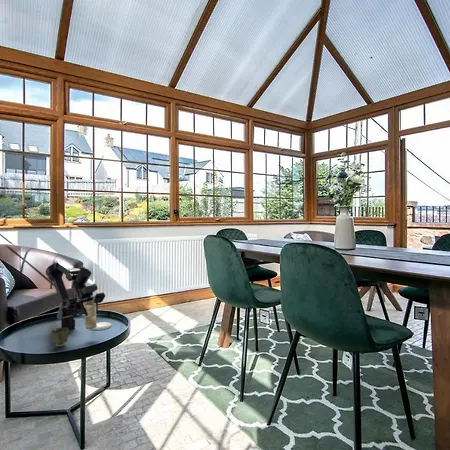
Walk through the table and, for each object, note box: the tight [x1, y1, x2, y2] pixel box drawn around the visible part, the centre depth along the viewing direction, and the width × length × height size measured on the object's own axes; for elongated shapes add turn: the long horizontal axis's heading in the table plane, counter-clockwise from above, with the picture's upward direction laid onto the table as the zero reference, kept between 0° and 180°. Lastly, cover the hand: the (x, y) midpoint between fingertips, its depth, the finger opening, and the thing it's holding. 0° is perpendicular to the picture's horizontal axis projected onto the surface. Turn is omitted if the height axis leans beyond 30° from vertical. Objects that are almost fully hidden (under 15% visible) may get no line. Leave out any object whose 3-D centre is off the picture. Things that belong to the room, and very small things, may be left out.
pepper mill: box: [84, 301, 97, 330], centre depth 165 cm, size 5×5×13 cm
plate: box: [90, 321, 112, 331], centre depth 185 cm, size 11×11×1 cm
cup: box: [51, 326, 70, 348], centre depth 156 cm, size 8×7×8 cm
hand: (92, 314), depth 164 cm, fingers closed on pepper mill, 5 cm apart
